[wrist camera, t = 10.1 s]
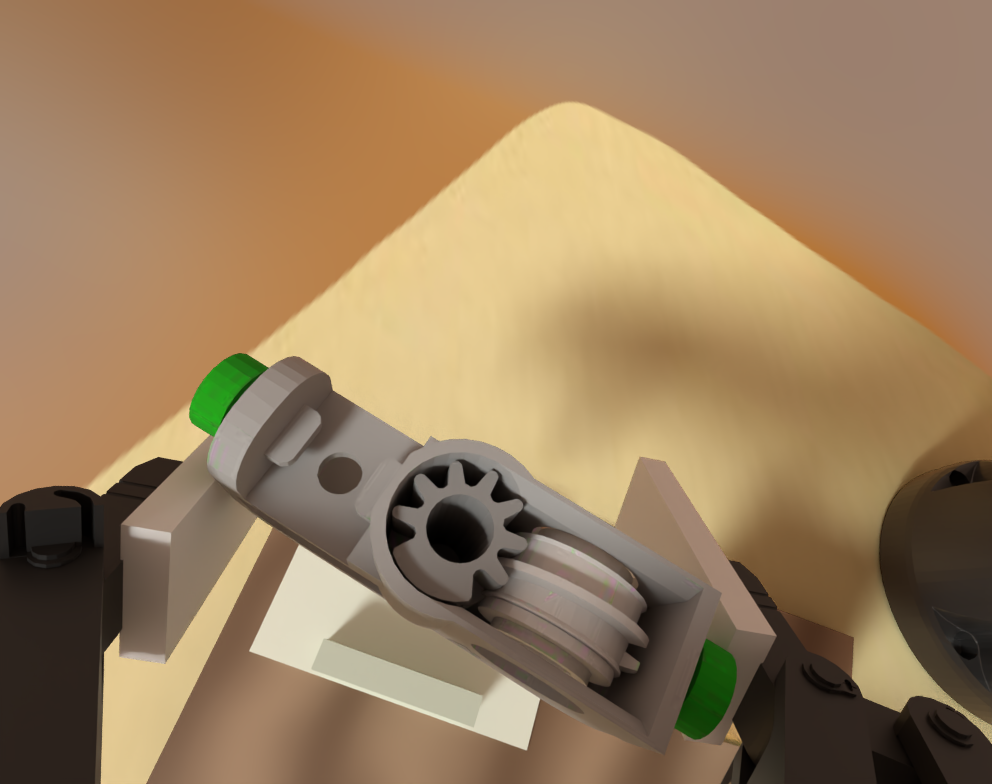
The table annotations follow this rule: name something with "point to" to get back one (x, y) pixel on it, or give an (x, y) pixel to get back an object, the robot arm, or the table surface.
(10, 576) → the robot arm
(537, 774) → the board
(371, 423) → the mechanical component
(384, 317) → the table surface
